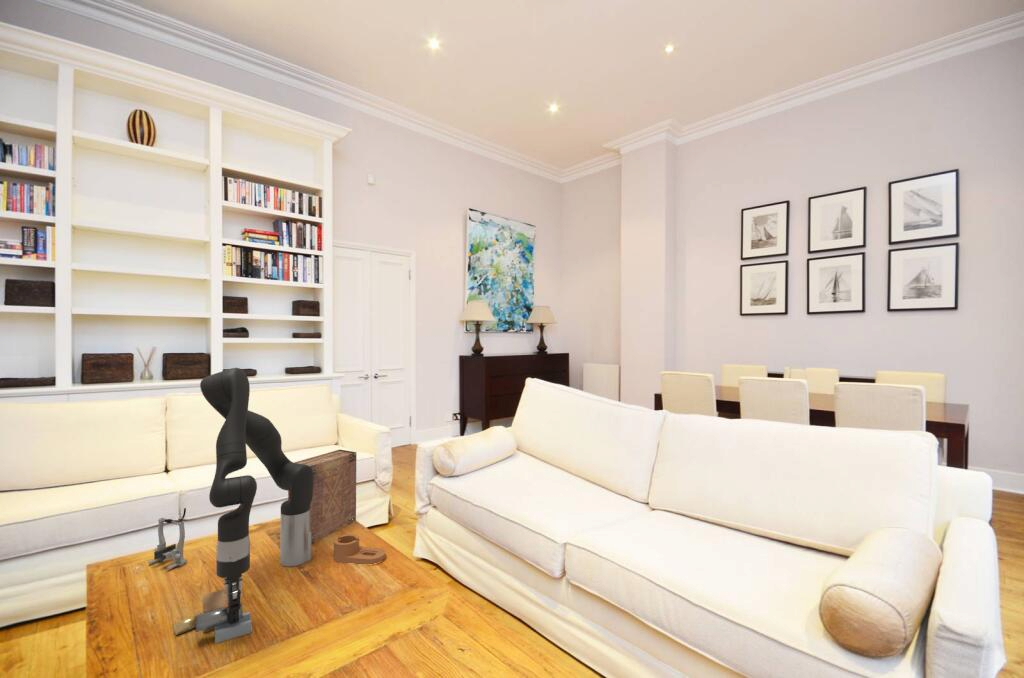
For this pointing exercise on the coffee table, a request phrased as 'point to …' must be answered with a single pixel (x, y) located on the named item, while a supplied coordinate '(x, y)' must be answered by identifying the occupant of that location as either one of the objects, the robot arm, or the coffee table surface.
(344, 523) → the book
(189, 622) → the cylinder
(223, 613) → the axle
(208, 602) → the beam
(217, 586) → the coffee table surface
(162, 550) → the bike brake
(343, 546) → the bracket
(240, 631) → the cradle
